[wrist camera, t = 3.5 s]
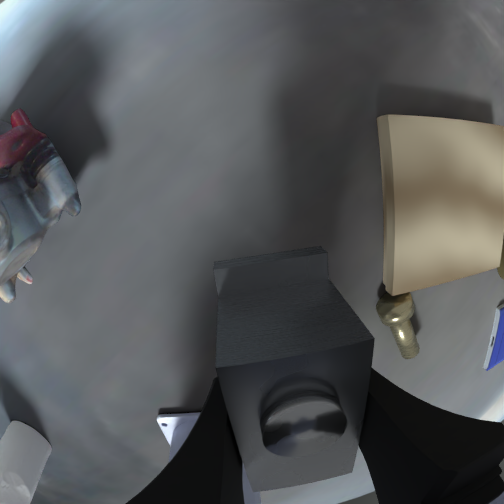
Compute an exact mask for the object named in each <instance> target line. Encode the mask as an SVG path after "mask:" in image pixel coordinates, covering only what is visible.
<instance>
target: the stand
mask: <svg viewBox="0 0 504 504" xmlns="http://www.w3.org/2000/svg"><path fill="white" fill-rule="evenodd" d="M376 119H377V127H378V136H379V146H380V158H381V171H382V188H383V214H384V261H383V284H384V285H386V289H385V290H386V291H387V292H388V293H390V294H391V295H392V296H395V295H399V294H403V293H407V292H411V291H415V290H419V289H423V288H427V287H431V286H435V285H439V284H442V283H446V282H450V281H453V280H457V279H460V278H464V277H467V276H471V275H474V274H478V273H481V272H484V271H488V270H491V269H494V268H497V267H500V260H501V253H502V245H503V236H504V126H500V125H494V124H488V123H481V122H474V121H466V120H458V119H449V118H439V117H426V116H411V115H383V116H380V117H377V118H376Z"/></svg>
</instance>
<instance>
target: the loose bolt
mask: <svg viewBox="0 0 504 504" xmlns="http://www.w3.org/2000/svg"><path fill="white" fill-rule="evenodd" d="M376 310H377V312H378V315H379V317H380V319H381V321H382V323H383V324H385V325H387V326H390V328H391V330H392V333H393V335H394V338H395V340H396V342H397V345H398V347H399V350H400V352H401V355H402V357H403V358H405V359H411V358H413V357H415V356H416V355H417V354H418V353H419V350H420V348H419V345H418V342H417V338H416V336H415V333H414V330H413V327H412V324H411V321H410V318H411V317H412V315H413V313H414V311H415V306H414V303H413V300H412V297H411V294H410V293H409V292H407V293H403V294H399V295H395V296H392V295H391V294H390V293H386V294H385V295H383V296H382V297H381V298H380V299H379V301H378V303H377V305H376Z"/></svg>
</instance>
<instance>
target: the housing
mask: <svg viewBox="0 0 504 504" xmlns="http://www.w3.org/2000/svg"><path fill="white" fill-rule="evenodd" d="M213 271H214V276H215V282H216V287H217V292H218V313H217V339H216V371H217V375H218V379H219V382H220V386H221V390H222V394H223V397H224V401H225V404H226V408H227V411H228V415H229V418H230V422H231V425H232V429H233V432H234V435H235V439H236V442H237V445H238V448H239V452H240V455H241V458H242V461H243V464H244V467H245V470H246V474H247V477H248V480H249V483H250V486H251V488H252V491H253V492H258V491H266V490H273V489H279V488H286V487H291V486H297V485H302V484H307V483H312V482H316V481H321V480H325V479H329V478H333V477H337V476H341V475H344V474H348V473H351V472H352V471H353V466H354V462H355V458H356V454H357V449H358V444H359V440H360V435H361V430H362V424H363V419H364V413H365V407H366V401H367V395H368V388H369V381H370V374H371V366H372V357H373V348H374V337H373V336H372V334H371V333H370V332H369V330H368V329H367V328H366V326H365V325H364V324H363V322H362V321H361V320H360V318H359V317H358V316H357V315H356V313H355V312H354V311H353V309H352V308H351V307H350V305H349V304H348V303H347V302H346V300H345V299H344V298H343V296H342V295H341V294H340V293H339V291H338V290H337V289H336V288H335V286H334V285H333V284H332V282H331V281H330V280H329V279H328V255H327V252H326V251H325V250H324V249H323V248H322V247H321V246H318V247H312V248H305V249H298V250H292V251H285V252H278V253H272V254H265V255H258V256H252V257H245V258H238V259H231V260H225V261H218V262H214V268H213Z"/></svg>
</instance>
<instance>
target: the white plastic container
mask: <svg viewBox="0 0 504 504" xmlns="http://www.w3.org/2000/svg"><path fill="white" fill-rule="evenodd" d="M51 450H52V448H51V445H50V443H49V442H48V441H47V440H46V439H45V438H44V437H43V436H42V435H41V434H40V433H39V432H37V431H36V430H35V429H33V428H32V427H30V426H28V425H26V424H24V423H22V422H20V421H12V422H11V423H10V425H9V427H8V428H7V430H6V432H5V433H4V435H3V436H2V438H1V440H0V504H30V502H31V500H32V497H33V495H34V492H35V489H36V486H37V484H38V481H39V478H40V476H41V473H42V471H43V468H44V466H45V464H46V461H47V459H48V457H49V455H50V453H51Z"/></svg>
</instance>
